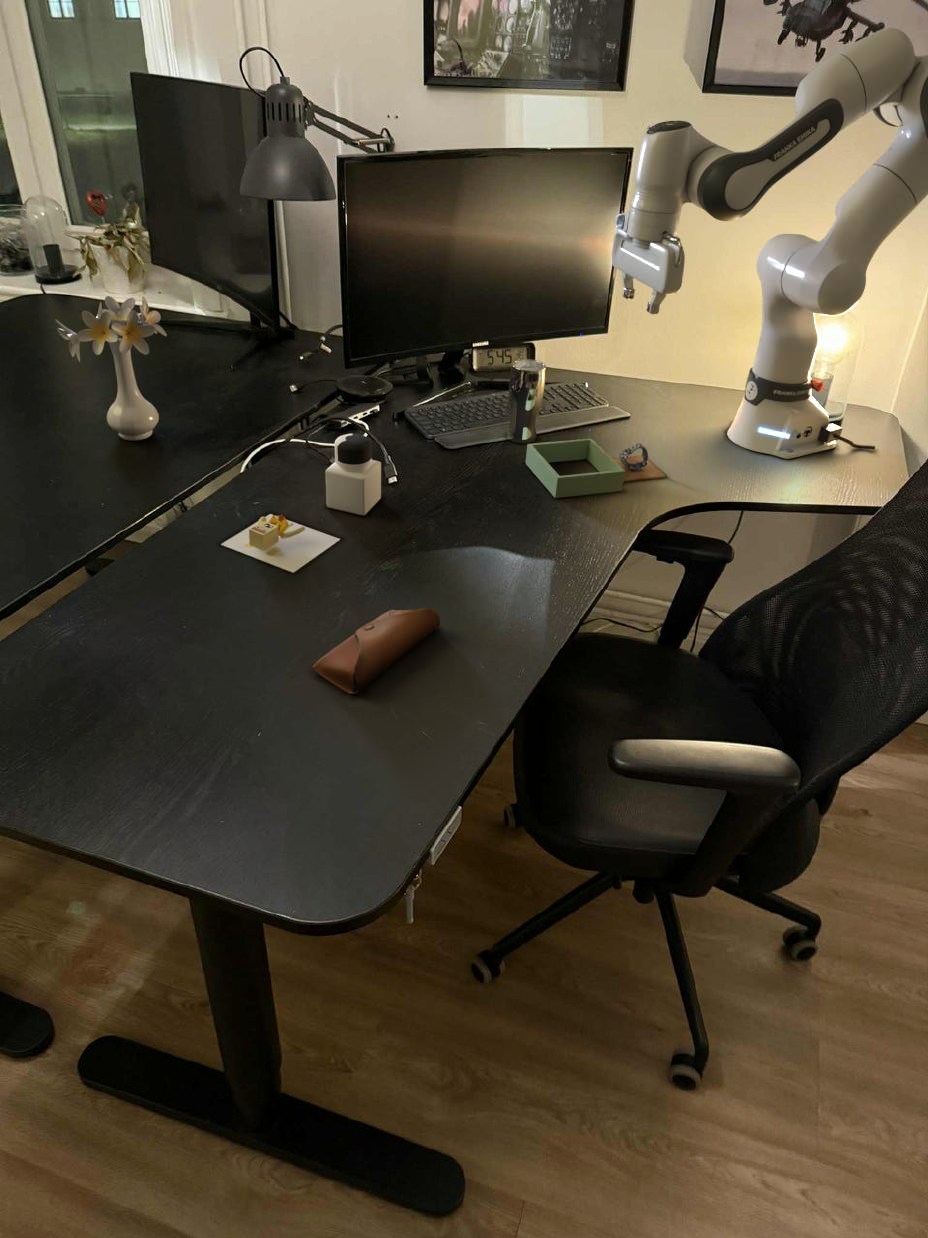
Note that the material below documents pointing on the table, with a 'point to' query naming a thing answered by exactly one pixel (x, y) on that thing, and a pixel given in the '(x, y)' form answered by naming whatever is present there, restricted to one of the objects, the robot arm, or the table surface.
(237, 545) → the miniature model
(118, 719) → the table surface
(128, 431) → the flower vase
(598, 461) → the tray
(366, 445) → the medicine bottle
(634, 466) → the wristwatch
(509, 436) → the shiny metal tumbler
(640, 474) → the cork pad
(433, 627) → the sunglasses case
